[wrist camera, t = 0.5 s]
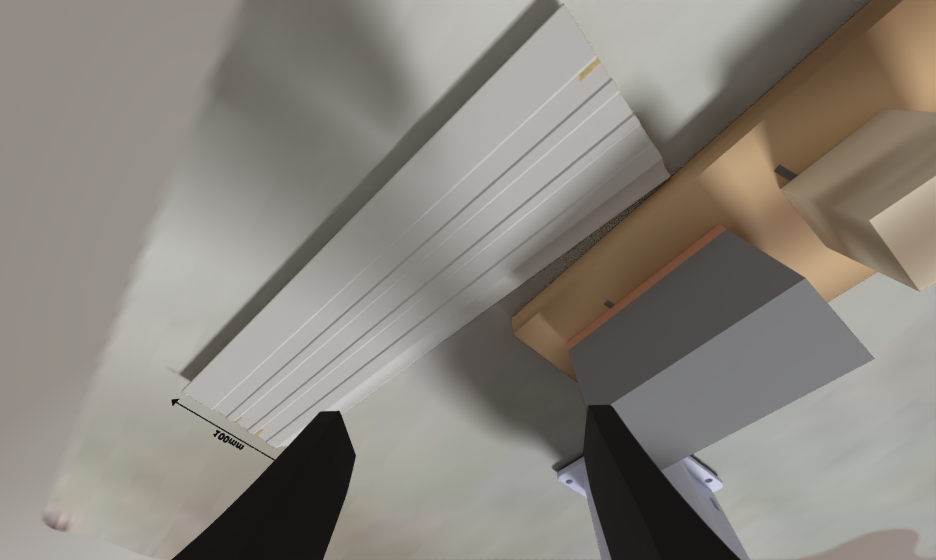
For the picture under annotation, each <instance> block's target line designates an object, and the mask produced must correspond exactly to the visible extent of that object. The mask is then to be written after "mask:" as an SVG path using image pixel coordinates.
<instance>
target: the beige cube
mask: <svg viewBox="0 0 936 560" xmlns="http://www.w3.org/2000/svg"><path fill="white" fill-rule="evenodd" d="M780 190H781V191H782V192H783V193H784V195H785V196H786V197H787V198H788V200H789V201H790V202H791V203H792V205H793V206H794V207H795V208H796V210H797V211H798V212H799V213H800V215H801V216H802V217H803V218H804V220H805V221H806V222H807V224H808V225H809V226H810V227H811V229H812V230H813V231H814V232H815V234H816V235H817V236H818V237H819V239H820V240H821V241H822V242H823V244H824V245H825V246H826V247H827V248H829V249H831V250H833V251H835V252H837V253H840V254H842V255H844V256H846V257H848V258H850V259H852V260H854V261H856V262H859V263H861V264H863V265H865V266H867V267H869V268H871V269H873V270H875V271H877V272H880V273H882V274H884V275H886V276H888V277H890V278H892V279H894V280H896V281H899V282H901V283H903V284H905V285H907V286H909V287H911V288H913V289H915V290H917V291H920V292H921V291H922V290H924V289H926V288H928V287H929V286H931V285H933V284H935V283H936V112H923V111H906V110H890V109H883V110H882V111H881V112H879V113H878V114H877V115H876V116H874V117H873V118H872V119H870V120H869V121H868V122H866V123H865V124H864V125H863V126H861V127H860V128H859V129H857V130H856V131H855V132H854V133H852V134H851V135H850V136H848V137H847V138H846V139H844V140H843V141H842V142H841V143H839V144H838V145H837V146H835V147H834V148H833V149H832V150H830V151H829V152H828V153H826V154H825V155H824V156H822V157H821V158H820V159H819V160H817V161H816V162H815V163H813V164H812V165H811V166H810V167H808V168H807V169H806V170H804V171H803V172H802V173H800V174H799V175H798V176H797V177H795V178H794V179H793V180H791V181H790V182H789V183H788V184H786V185H785V186H784V187H782V188H781V189H780Z"/></svg>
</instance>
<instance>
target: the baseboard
mask: <svg viewBox="0 0 936 560" xmlns="http://www.w3.org/2000/svg"><path fill="white" fill-rule="evenodd" d="M669 177H671V176H670V174H669V173H668V171H667V170H666V168H665V166H664V163H663V157H662V156H661V154H660V153H659V151H658V150H657V148H656V146H655V145H654V144H653V143H652V141H651V140H650V138H649V136H648V135H647V133H646V132H645V130H644V129H643V127H642V126H641V124H640V121H639V120H638V118H637V117H636V115H635V114H634V113H633V112H632V110H631V108H630V107H629V105H628V104H627V102H626V101H625V99H624V98H623V96H622V94H621V93H620V90H619V89H618V87H617V86H616V84H615V82H614V81H613V80H612V78H611V77H610V76H609V74H608V73H607V71H606V69H605V68H604V66H603V65H602V63H601V62H600V60H599V59H598V57H597V54H596V53H595V51H594V50H593V48H592V47H591V45H590V43H589V42H588V40H587V39H586V37H585V36H584V34H583V33H582V31H581V29H580V28H579V26H578V25H577V23H576V22H575V20H574V18H573V17H572V15H571V14H570V12H569V11H568V9H567V8H566V6H565V4H564V3H563V4H562V5H561V6H560V7H559V8H558V9H557V10H556V11H555V12H554V13H553V14H552V15H551V16H550V17H549V18H548V19H547V20H546V21H545V22H544V23H543V24H542V25H541V26H540V27H539V28H538V29H537V30H536V31H535V32H534V33H533V34H532V35H531V36H530V37H529V38H528V39H527V40H526V41H525V43H524V44H523V45H522V46H521V47H520V48H519V49H518V50H517V51H516V52H515V53H514V54H513V55H512V56H511V57H510V58H509V59H508V60H507V61H506V62H505V63H504V64H503V65H502V66H501V67H500V68H499V69H498V70H497V71H496V72H495V73H494V74H493V75H492V76H491V77H490V78H489V79H488V80H487V81H486V82H485V83H484V84H483V85H482V86H481V87H480V88H479V89H478V90H477V91H476V92H475V93H474V94H473V95H472V96H471V97H470V98H469V99H468V100H467V101H466V102H465V103H464V104H463V105H462V107H461V108H460V109H459V110H458V111H457V112H456V113H455V114H454V115H453V116H452V117H451V118H450V119H449V120H448V121H447V122H446V123H445V124H444V125H443V126H442V127H441V128H440V129H439V130H438V131H437V132H436V133H435V134H434V135H433V136H432V137H431V138H430V139H429V140H428V141H427V142H426V143H425V144H424V145H423V146H422V147H421V148H420V149H419V150H418V151H417V152H416V153H415V154H414V155H413V156H412V157H411V158H410V159H409V160H408V161H407V162H406V163H405V164H404V165H403V166H402V167H401V168H400V170H399V171H398V172H397V173H396V174H395V175H394V176H393V177H392V178H391V179H390V180H389V181H388V182H387V183H386V184H385V185H384V186H383V187H382V188H381V189H380V190H379V191H378V192H377V193H376V194H375V195H374V196H373V197H372V198H371V199H370V200H369V201H368V202H367V203H366V204H365V205H364V206H363V207H362V208H361V209H360V210H359V211H358V212H357V213H356V214H355V215H354V216H353V217H352V218H351V219H350V220H349V221H348V222H347V223H346V224H345V225H344V226H343V227H342V228H341V229H340V230H339V231H338V232H337V234H336V235H335V236H334V237H333V238H332V239H331V240H330V241H329V242H328V243H327V244H326V245H325V246H324V247H323V248H322V249H321V250H320V251H319V252H318V253H317V254H316V255H315V256H314V257H313V258H312V259H311V260H310V261H309V262H308V263H307V264H306V265H305V266H304V267H303V268H302V269H301V270H300V271H299V272H298V273H297V274H296V275H295V276H294V277H293V278H292V279H291V280H290V281H289V282H288V283H287V284H286V285H285V286H284V287H283V288H282V289H281V290H280V291H279V292H278V293H277V294H276V295H275V296H274V298H273V299H272V300H271V301H270V302H269V303H268V304H267V305H266V306H265V307H264V308H263V309H262V310H261V311H260V312H259V313H258V314H257V315H256V316H255V317H254V318H253V319H252V320H251V321H250V322H249V323H248V324H247V325H246V326H245V327H244V328H243V329H242V330H241V331H240V332H239V333H238V334H237V335H236V336H235V337H234V338H233V339H232V340H231V341H230V342H229V343H228V344H227V345H226V346H225V347H224V348H223V349H222V350H221V351H220V352H219V353H218V354H217V355H216V356H215V357H214V358H213V359H212V361H211V362H210V363H209V364H208V365H207V366H206V367H205V368H204V369H203V370H202V371H201V372H200V373H199V374H198V375H197V376H196V377H195V378H194V379H193V380H192V381H191V382H190V383H189V384H188V385H187V386H186V387H185V388H184V389H183V390H182V392H183V393H185V394H186V395H188V396H190V397H191V398H193V399H195V400H196V401H198V402H199V403H201V404H203V405H204V406H206V407H208V408H209V409H214V410H215V411H217V412H219V413H220V414H222V415H224V416H225V417H226V419H228V420H229V421H231V422H235V423H237V424H239V425H240V426H242V427H244V428H245V429H247V431H248V432H249V433H251V434H255V435H257V436H258V437H260V438H262V439H263V440H265V441H266V443H268V444H269V445H271V446H273V447H274V448H277V447H281V446H287V447H288V446H289V444H290V443H291V442H292V441H293V440H294V439H295V438H296V437H297V436H298V435H299V434H300V432H301V431H302V430H303V429H304V428H305V427H306V426H307V425H308V424H309V423H310V422H311V421H312V419H313V418H314V417H315V416H316V415H317V414H318V413H319V412H320V411H340V413H341V414H343V413H344V412H346V411H347V410H348V409H350V408H351V407H353V406H354V405H355V404H357V403H358V402H359V401H361V400H362V399H364V398H365V397H366V396H368V395H369V394H371V393H372V392H373V391H375V390H376V389H377V388H379V387H380V386H382V385H383V384H384V383H386V382H387V381H389V380H390V379H391V378H393V377H394V376H395V375H397V374H398V373H400V372H401V371H402V370H404V369H405V368H407V367H408V366H409V365H411V364H412V363H413V362H415V361H416V360H418V359H419V358H420V357H422V356H423V355H425V354H426V353H427V352H429V351H430V350H431V349H433V348H434V347H436V346H437V345H438V344H440V343H441V342H442V341H444V340H445V339H447V338H448V337H449V336H451V335H452V334H454V333H455V332H456V331H458V330H459V329H460V328H462V327H463V326H465V325H466V324H467V323H469V322H470V321H472V320H473V319H474V318H476V317H477V316H478V315H480V314H481V313H483V312H484V311H485V310H487V309H488V308H490V307H491V306H492V305H494V304H495V303H496V302H498V301H499V300H501V299H502V298H503V297H505V296H506V295H508V294H509V293H510V292H512V291H513V290H514V289H516V288H517V287H519V286H520V285H521V284H523V283H524V282H526V281H527V280H528V279H530V278H531V277H532V276H534V275H535V274H537V273H538V272H539V271H541V270H542V269H544V268H545V267H546V266H548V265H549V264H550V263H552V262H553V261H555V260H556V259H557V258H559V257H560V256H562V255H563V254H564V253H566V252H567V251H568V250H570V249H571V248H573V247H574V246H575V245H577V244H578V243H579V242H581V241H582V240H584V239H585V238H586V237H588V236H589V235H591V234H592V233H593V232H595V231H596V230H597V229H599V228H600V227H602V226H603V225H604V224H606V223H607V222H609V221H610V220H611V219H613V218H614V217H615V216H617V215H618V214H620V213H621V212H622V211H624V210H625V209H627V208H628V207H629V206H631V205H632V204H633V203H635V202H636V201H638V200H639V199H640V198H642V197H643V196H645V195H646V194H647V193H649V192H650V191H651V190H653V189H654V188H656V187H657V186H658V185H660V184H661V183H663V182H664V181H665V180H667V179H668V178H669ZM178 400H179V399H173V400H172V406H173V405H174V404H175V403H177V404H179V403H178V402H177V401H178ZM179 405H180V406H182V407H184V408H186V407H185V406H183V405H181V404H179ZM186 409H187V410H189V411H191V410H190V409H188V408H186ZM191 412H192V413H194V414H196V413H195V412H193V411H191ZM196 415H197V416H199V417H201V416H200V415H198V414H196ZM201 418H203V417H201ZM203 419H204V420H206V421H208V420H207V419H205V418H203ZM208 422H209V423H211V424H213V423H212V422H210V421H208ZM213 425H215V424H213ZM215 426H216V427H218V426H217V425H215ZM218 428H220V427H218ZM220 429H221V430H223V431H225V430H224V429H222V428H220ZM216 432H217V433H216V434H213V435H214V437H216V435H217V434H218V433H220V431H218V430H216ZM225 432H226V433H228V434H230V433H229V432H227V431H225ZM221 435H223V436H222V438H220V437H221ZM230 435H232V434H230ZM224 436H225V434H224V433H221V434H220V435H219V436H218V439H219V440H222V439H223V438H224ZM232 436H233V437H235V436H234V435H232ZM226 438H228V439H227V440H226V441H225V439H226ZM235 438H237V437H235ZM229 439H230V437H229V436H226V437H225V438H224V439H223V442H224V443H226V442H228V441H229V442H228V443H230V444H232V445H233V446H234V445H235V444H236V443H237V441H236V442H235V443H234V444H233V442H234V441H235V440H233V441H232V442H231V440H232V438H231V439H230V440H229ZM237 439H238V440H240V441H242V440H241V439H239V438H237ZM242 442H243V443H245V444H247V443H246V442H244V441H242ZM238 445H239V442H238V443H237V445H236V446H235V447H237V448H239V449H240V450H241V449H243V447H244V445H243V446H242V447H241V445H242V444H240V445H239V446H238ZM247 445H249V444H247ZM249 446H250V447H252V446H251V445H249ZM240 447H241V448H240ZM252 448H254V447H252ZM254 449H255V450H257V451H259V450H258V449H256V448H254ZM259 452H261V451H259ZM261 453H262V454H264V453H263V452H261ZM264 455H266V454H264ZM266 456H267V457H269V456H268V455H266ZM269 458H271V457H269ZM271 459H272V460H274V461H275V459H273V458H271Z"/></svg>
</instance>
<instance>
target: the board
mask: <svg viewBox="0 0 936 560" xmlns="http://www.w3.org/2000/svg"><path fill="white" fill-rule="evenodd" d="M883 109H890V110H906V111H923V112H936V0H871V1H870V2H869V3H868V4H866V5H865V6H864V7H863V8H862V9H861V10H860V11H858V12H857V13H856V14H855V15H854V16H853V17H852V18H851V19H849V20H848V21H847V22H846V23H845V24H844V25H843V26H841V27H840V28H839V29H838V30H837V31H836V32H835V33H834V34H832V35H831V36H830V37H829V38H828V39H827V40H826V41H825V42H823V43H822V44H821V45H820V46H819V47H818V48H817V49H815V50H814V51H813V52H812V53H811V54H810V55H809V56H808V57H806V58H805V59H804V60H803V61H802V62H801V63H800V64H799V65H797V66H796V67H795V68H794V69H793V70H792V71H791V72H789V73H788V74H787V75H786V76H785V77H784V78H783V79H782V80H780V81H779V82H778V83H777V84H776V85H775V86H774V87H772V88H771V89H770V90H769V91H768V92H767V93H766V94H765V95H763V96H762V97H761V98H760V99H759V100H758V101H757V102H756V103H754V104H753V105H752V106H751V107H750V108H749V109H748V110H746V111H745V112H744V113H743V114H742V115H741V116H740V117H739V118H737V119H736V120H735V121H734V122H733V123H732V124H731V125H730V126H728V127H727V128H726V129H725V130H724V131H723V132H722V133H720V134H719V135H718V136H717V137H716V138H715V139H714V140H713V141H711V142H710V143H709V144H708V145H707V146H706V147H705V148H703V149H702V150H701V151H700V152H699V153H698V154H697V155H696V156H694V157H693V158H692V159H691V160H690V161H689V162H688V163H687V164H685V165H684V166H683V167H682V168H681V169H680V170H679V171H677V172H676V173H675V174H674V175H673V176H672V177H671V178H670V179H668V180H667V181H666V182H665V183H664V184H663V185H662V186H660V187H659V188H658V189H657V190H656V191H655V192H654V193H653V194H651V195H650V196H649V197H648V198H647V199H646V200H645V201H644V202H642V203H641V204H640V205H639V206H638V207H637V208H636V209H634V210H633V211H632V212H631V213H630V214H629V215H628V216H627V217H625V218H624V219H623V220H622V221H621V222H620V223H619V224H618V225H616V226H615V227H614V228H613V229H612V230H611V231H610V232H608V233H607V234H606V235H605V236H604V237H603V238H602V239H601V240H599V241H598V242H597V243H596V244H595V245H594V246H593V247H591V248H590V249H589V250H588V251H587V252H586V253H585V254H584V255H582V256H581V257H580V258H579V259H578V260H577V261H576V262H575V263H573V264H572V265H571V266H570V267H569V268H568V269H567V270H565V271H564V272H563V273H562V274H561V275H560V276H559V277H558V278H556V279H555V280H554V281H553V282H552V283H551V284H550V285H549V286H547V287H546V288H545V289H544V290H543V291H542V292H541V293H539V294H538V295H537V296H536V297H535V298H534V299H533V300H532V301H530V302H529V303H528V304H527V305H526V306H525V307H524V308H522V309H521V310H520V311H519V312H518V313H517V314H516V315H515V316H513V317H512V318H511V320H512V329H513V335H515V336H516V337H517V338H519V339H520V340H521V341H523V342H524V343H525V344H527V345H528V346H529V347H531V348H532V349H533V350H535V351H536V352H537V353H539V354H540V355H542V356H543V357H544V358H546V359H547V360H548V361H550V362H551V363H552V364H554V365H555V366H556V367H558V368H559V369H560V370H562V371H563V372H564V373H566V374H567V375H568V376H570V377H571V378H572V379H574V380H575V381H576V382H578V381H577V378H576V375H575V371H574V368H573V365H572V361H571V358H570V355H569V351H568V348H567V345H566V343H567V342H568V341H569V340H571V339H572V338H573V337H574V336H576V335H577V334H578V333H580V332H581V331H582V330H583V329H585V328H586V327H587V326H589V325H590V324H591V323H592V322H594V321H595V320H596V319H598V318H599V317H600V316H601V315H603V314H604V313H605V312H607V311H608V310H609V309H610V308H612V307H613V306H614V305H616V304H617V303H618V302H619V301H621V300H622V299H623V298H625V297H626V296H627V295H628V294H630V293H631V292H632V291H634V290H635V289H636V288H637V287H639V286H640V285H641V284H643V283H644V282H645V281H646V280H648V279H649V278H650V277H652V276H653V275H654V274H655V273H657V272H658V271H659V270H661V269H662V268H663V267H664V266H666V265H667V264H668V263H670V262H671V261H672V260H673V259H675V258H676V257H677V256H679V255H680V254H681V253H682V252H684V251H685V250H686V249H687V248H689V247H690V246H691V245H693V244H694V243H695V242H696V241H698V240H699V239H700V238H702V237H703V236H704V235H705V234H707V233H708V232H709V231H711V230H712V229H713V228H714V227H716V226H717V225H718V224H719V225H721V226H722V227H724V228H726V229H727V230H729V231H731V232H732V233H734V234H735V235H737V236H739V237H740V238H742V239H744V240H745V241H747V242H748V243H750V244H752V245H753V246H755V247H757V248H758V249H760V250H761V251H763V252H765V253H766V254H768V255H769V256H771V257H773V258H774V259H776V260H778V261H779V262H781V263H782V264H784V265H786V266H787V267H789V268H791V269H792V270H794V271H795V272H797V273H799V274H800V275H802V276H804V277H805V278H806V279H807V280H808V281H809V282H810V283H811V285H812V286H813V287H814V288H815V289H816V290H817V292H818V293H819V294H820V295H821V296H822V297H823V299H824V300H825V301H826V302H827V303H828V302H829V301H831V300H832V299H834V298H836V297H837V296H839V295H841V294H842V293H844V292H846V291H847V290H849V289H851V288H852V287H854V286H855V285H857V284H859V283H860V282H862V281H864V280H865V279H867V278H869V277H870V276H872V275H874V274H875V273H877V271H875V270H873V269H871V268H869V267H867V266H865V265H863V264H861V263H859V262H856V261H854V260H852V259H850V258H848V257H846V256H844V255H842V254H840V253H837V252H835V251H833V250H831V249H829V248H827V247H826V246H825V245H824V244H823V242H822V241H821V240H820V239H819V237H818V236H817V235H816V234H815V232H814V231H813V230H812V229H811V227H810V226H809V225H808V224H807V222H806V221H805V220H804V218H803V217H802V216H801V215H800V213H799V212H798V211H797V210H796V208H795V207H794V206H793V205H792V203H791V202H790V201H789V200H788V198H787V197H786V196H785V195H784V193H783V192H782V191H781V190H780V189H781V188H782V187H784V186H785V185H786V184H788V183H789V182H790V181H791V180H793V179H794V178H795V177H797V176H798V175H799V174H800V173H802V172H803V171H804V170H806V169H807V168H808V167H810V166H811V165H812V164H813V163H815V162H816V161H817V160H819V159H820V158H821V157H822V156H824V155H825V154H826V153H828V152H829V151H830V150H832V149H833V148H834V147H835V146H837V145H838V144H839V143H841V142H842V141H843V140H844V139H846V138H847V137H848V136H850V135H851V134H852V133H854V132H855V131H856V130H857V129H859V128H860V127H861V126H863V125H864V124H865V123H866V122H868V121H869V120H870V119H872V118H873V117H874V116H876V115H877V114H878V113H879V112H881V111H882V110H883Z"/></svg>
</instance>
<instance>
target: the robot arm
mask: <svg viewBox="0 0 936 560" xmlns="http://www.w3.org/2000/svg"><path fill="white" fill-rule="evenodd" d="M583 455H584V457H582V458H580V459H579V460H577V461H575V462H574V463H572V464H570V465H569V466H567V467H565V468H564V469H562V470H560V471H559V472H558V473H557V477H558V480H559V481H560V482H562V483H563V484H565V485H567V486H568V487H570V488H572V489H573V490H575V491H576V492H578V493H580V494H581V495H583V496H584V497H586V498H587V501H588V505H589V509H590V513H591V517H592V521H593V525H594V530H595V534H596V538H597V542H598V546H599V550H600V555H601V559H602V560H750V559H749V557H748V555H747V553H746V552H745V550H744V548H743V546H742V544H741V542H740V541H739V539H738V537H737V535H736V533H735V532H734V530H733V528H732V526H731V524H730V523H729V521H728V519H727V517H726V515H725V513H724V512H723V510H722V508H721V506H720V504H719V503H718V501H717V499H716V497H715V495H714V493H713V492H715V491H717V490H719V489H721V488H722V487H723V486H724V484H723V482H722V481H721V479H720V478H719V477H717V476H716V475H715V474H713V473H712V472H711V471H709V470H708V469H707V468H705V467H704V466H703V465H701V464H700V463H699V462H697V461H696V460H695V459H693V458H692V457H691V456H688V457H686V458H684V459H682V460H680V461H679V462H677V463H675V464H673V465H671V466H669V467H667V468H665V469H663V470H660V469H659V468H658V467H657V465H656V464H655V463H654V462H653V460H652V459H651V458H650V457H649V455H648V454H647V453H646V451H645V450H644V449H643V448H642V446H641V445H640V444H639V442H638V441H637V440H636V438H635V437H634V436H633V434H632V433H631V431H630V430H629V429H628V427H627V426H626V425H625V423H624V422H623V420H622V419H621V417H620V416H619V415H618V413H617V412H616V410H615V409H614V407H612V406H611V405H588V408H587V418H586V429H585V439H584V449H583ZM355 457H356V455H355V452H354V449H353V446H352V444H351V441H350V438H349V435H348V432H347V430H346V427H345V424H344V421H343V418H342V415H341V413H340V411H320V412H319V413H318V414H317V415H316V416H315V417H314V418H313V419H312V421H311V422H310V423H309V424H308V425H307V426H306V427H305V428H304V429H303V430H302V431H301V432H300V434H299V435H298V436H297V437H296V438H295V439H294V440H293V441H292V442H291V443H290V444H289V446H288V447H287V448H286V449H285V450H284V451H283V452H282V453H281V454H280V455H279V456H278V457H277V459H276V460H275V461H274V462H273V463H272V464H271V465H270V466H269V467H268V468H267V469H266V470H265V471H264V472H263V473H262V474H261V475H260V477H259V478H258V479H257V480H256V481H255V482H254V483H253V484H252V485H251V486H250V487H249V488H248V489H247V490H246V491H245V492H244V493H243V494H242V495H241V496H240V497H239V498H238V499H237V500H236V501H235V502H234V503H233V504H232V505H231V506H230V507H229V508H228V509H227V510H226V511H225V512H224V513H223V514H222V515H221V516H219V517H218V518H217V519H216V520H215V521H214V522H213V523H212V524H211V525H210V526H209V527H208V528H207V529H206V530H204V531H203V532H202V533H201V534H200V535H199V536H198V537H197V538H196V539H194V540H193V541H192V542H191V543H190V544H189V545H188V546H187V547H185V548H184V549H183V550H182V551H181V552H180V553H179V554H177V555H176V556H175V557H174V558H173V559H172V560H323V558H324V555H325V553H326V550H327V547H328V544H329V542H330V539H331V536H332V533H333V531H334V528H335V525H336V522H337V520H338V517H339V514H340V511H341V508H342V506H343V503H344V500H345V497H346V494H347V491H348V487H349V483H350V479H351V475H352V471H353V466H354V462H355Z"/></svg>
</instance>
